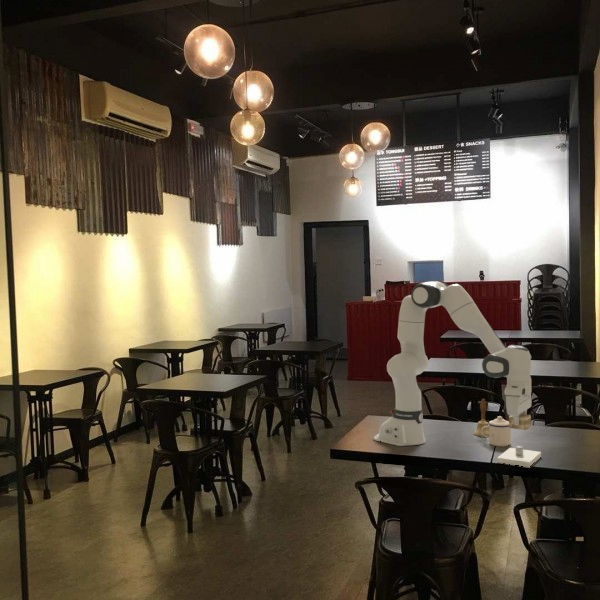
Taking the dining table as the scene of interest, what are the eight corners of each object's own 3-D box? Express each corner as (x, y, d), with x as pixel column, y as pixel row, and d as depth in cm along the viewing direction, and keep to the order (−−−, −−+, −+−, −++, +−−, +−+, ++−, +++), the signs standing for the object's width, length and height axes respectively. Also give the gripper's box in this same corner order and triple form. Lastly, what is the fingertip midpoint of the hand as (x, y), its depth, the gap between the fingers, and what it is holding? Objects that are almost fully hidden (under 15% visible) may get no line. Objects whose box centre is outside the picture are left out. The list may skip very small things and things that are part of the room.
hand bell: (492, 432, 284) (491, 397, 284) (493, 437, 276) (492, 401, 276) (473, 431, 286) (472, 397, 286) (473, 436, 278) (473, 400, 278)
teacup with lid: (511, 441, 268) (511, 414, 267) (510, 447, 259) (510, 419, 259) (482, 439, 272) (482, 413, 272) (480, 445, 264) (480, 417, 263)
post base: (497, 462, 239) (497, 449, 239) (510, 452, 252) (510, 440, 252) (529, 467, 232) (529, 454, 232) (541, 457, 245) (541, 444, 245)
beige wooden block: (509, 428, 241) (509, 416, 241) (514, 424, 246) (514, 413, 246) (526, 429, 237) (525, 418, 237) (530, 426, 242) (530, 414, 242)
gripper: (519, 382, 251) (519, 416, 252) (502, 391, 235) (503, 427, 235) (535, 383, 248) (535, 418, 248) (519, 392, 231) (520, 429, 231)
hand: (520, 422), depth 241 cm, fingers closed on beige wooden block, 6 cm apart
